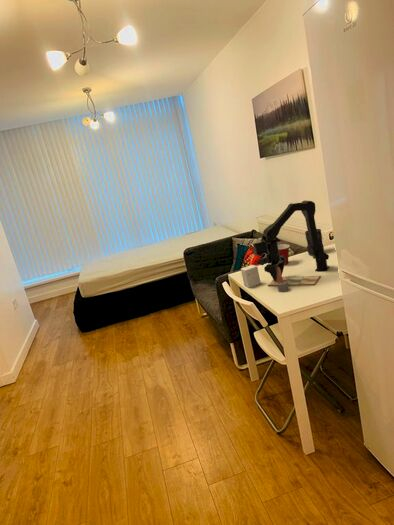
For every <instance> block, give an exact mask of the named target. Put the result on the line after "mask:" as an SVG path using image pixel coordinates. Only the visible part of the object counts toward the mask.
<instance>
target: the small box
mask: <svg viewBox="0 0 394 525" xmlns="http://www.w3.org/2000/svg"><path fill="white" fill-rule="evenodd" d="M240 272H241V277H242V281H243V286H244V287H246V288H248V289H251V288H253V287H255V286H258V285H260V284H262V282H261V278H260V273H259V269H258V266H257V265H255V264H251V265H248V266H245V267H243V268H240Z"/></svg>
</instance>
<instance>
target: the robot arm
mask: <svg viewBox="0 0 394 525" xmlns="http://www.w3.org/2000/svg"><path fill="white" fill-rule="evenodd" d="M296 211H297V212H299V211H300V212H301V213H302V215H303V217H304V219H305V224H306V231H308V235H309V240H310V244H309V246H308V245H307V246H306V249H307V253H308V255H309V254H310V255H311V257H312V258H313V260H315V265H316V269H314V271H315V272H326V271H328V270H329V268H330V265H328V261H327V260H329V259H330V258H329V257H330V255H329V254H327V253H325V249H324V250H323V248H322V246H321V244H320V242H319V240H318V234H317V229H318V228H317V224H316V219H315V214H316V203H315V202H314V201H312V200H306V199H305V200H303V201H301V202H295V203H294V202H293V203H292V202H290V203H289V204H288V205H287V207H286V208H285V209H284V210H283V212H282V213H281V214H280V215H279V216H278V217H277V218H276V219H275V221H274V222H273V223H272V224H269V225H268V226H267V227H266V228H265V229H264V230H263V231H262V233H263V234H262V237H261V239H260V242H259V241H258V242H254V243H253V245H252V252H253V255H254V256H255V257H258V256H261V255H265V254H266V256H264V257H261V258H259V259H258V264H259V265H261V266H264V265H265V266H264V269H263V270H264V272H266V273H268V274H269V275H270V277H272V280H274V281H276V280H277V273H278V269H277V268H278V267H279V268H280V270H281V274H282V275H283V272H284V269H285V266H286V265H285V262H286V256H284V255H282V256H280V255H279V254H280V251H279V250H278V245H279V244H278V243H279V242H281V239H279V237H278V235H279V234H280V230H281V229H282V227H283V226H284V225H285V224H286V223H287V221H288V220H289V219H290V218H291V216H292V215H293V214H295V212H296ZM310 255H309V256H310Z"/></svg>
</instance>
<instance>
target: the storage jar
mask: <svg viewBox="0 0 394 525" xmlns="http://www.w3.org/2000/svg"><path fill="white" fill-rule="evenodd" d="M316 229H317V234H318V240H319V242H320V244H321V246H322V248H323V250H324V251H325V248H324V244H323V234H322V230H321V229H320V228H316ZM304 233H305V239H306V244H307V246H309V244H310V240H309V235H308V230H306V231H305V232H304ZM308 255H309V256H311V255H310V254H309V253H308ZM311 257H312V256H311Z"/></svg>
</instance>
